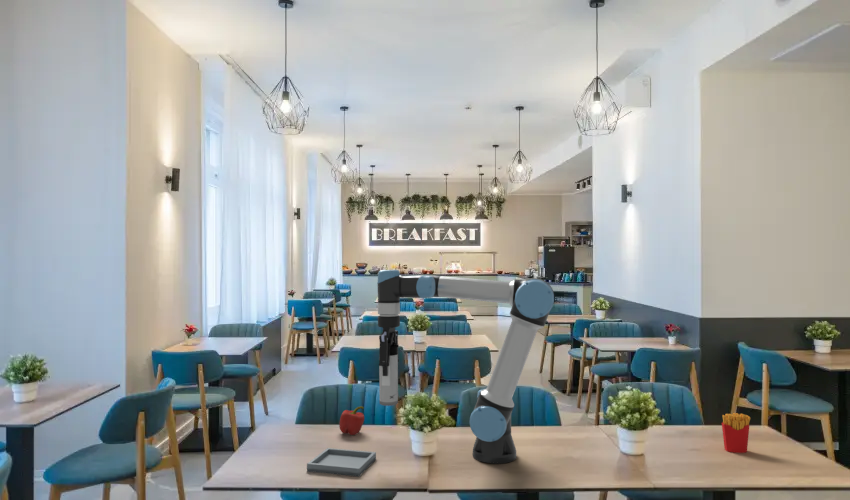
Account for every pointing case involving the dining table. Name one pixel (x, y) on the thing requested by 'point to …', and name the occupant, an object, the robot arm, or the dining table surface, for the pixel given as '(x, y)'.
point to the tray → (341, 462)
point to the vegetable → (351, 421)
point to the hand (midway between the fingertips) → (389, 383)
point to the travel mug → (390, 392)
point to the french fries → (735, 432)
